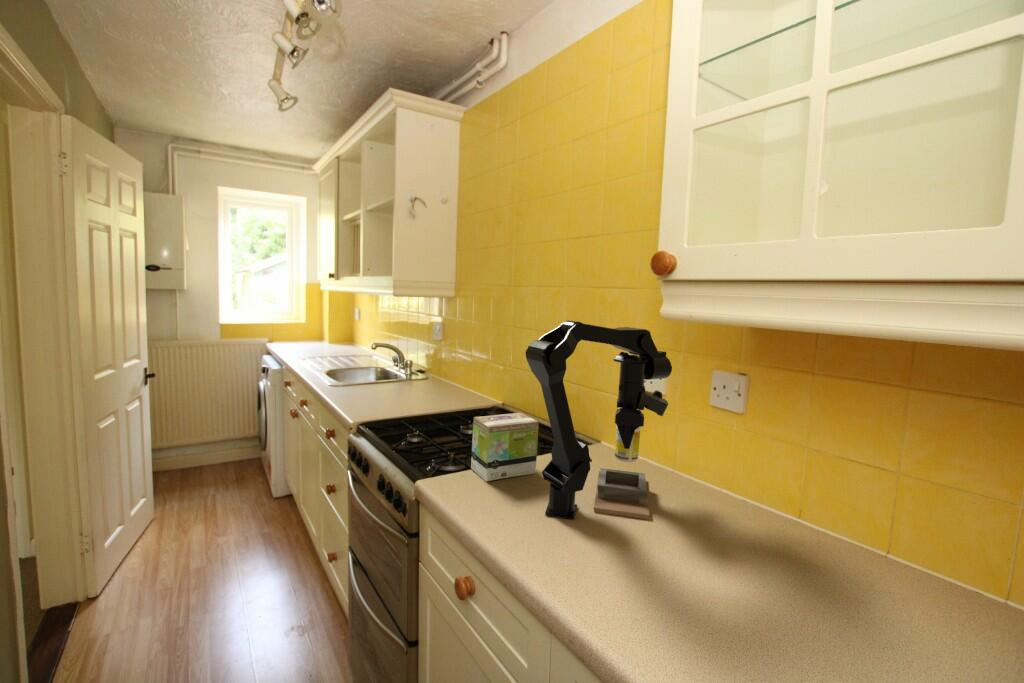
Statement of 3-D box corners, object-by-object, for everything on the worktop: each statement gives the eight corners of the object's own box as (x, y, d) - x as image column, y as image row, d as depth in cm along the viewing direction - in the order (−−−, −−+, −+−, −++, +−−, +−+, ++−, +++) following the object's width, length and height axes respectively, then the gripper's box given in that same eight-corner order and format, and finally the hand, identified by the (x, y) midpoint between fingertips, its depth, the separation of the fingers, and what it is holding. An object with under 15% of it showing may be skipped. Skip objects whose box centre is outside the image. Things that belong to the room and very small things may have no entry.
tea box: (486, 483, 118) (488, 426, 117) (470, 469, 127) (471, 416, 125) (537, 473, 126) (539, 420, 124) (518, 461, 134) (520, 410, 133)
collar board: (649, 519, 102) (650, 502, 102) (593, 511, 105) (594, 494, 105) (644, 480, 124) (645, 465, 123) (598, 474, 126) (599, 460, 126)
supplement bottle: (634, 455, 116) (638, 414, 115) (640, 463, 110) (643, 421, 109) (612, 454, 116) (615, 413, 115) (616, 462, 110) (619, 420, 109)
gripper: (670, 392, 100) (664, 462, 102) (664, 377, 118) (659, 437, 120) (617, 387, 103) (612, 455, 104) (619, 373, 121) (615, 432, 122)
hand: (626, 444), depth 113 cm, fingers closed on supplement bottle, 6 cm apart
